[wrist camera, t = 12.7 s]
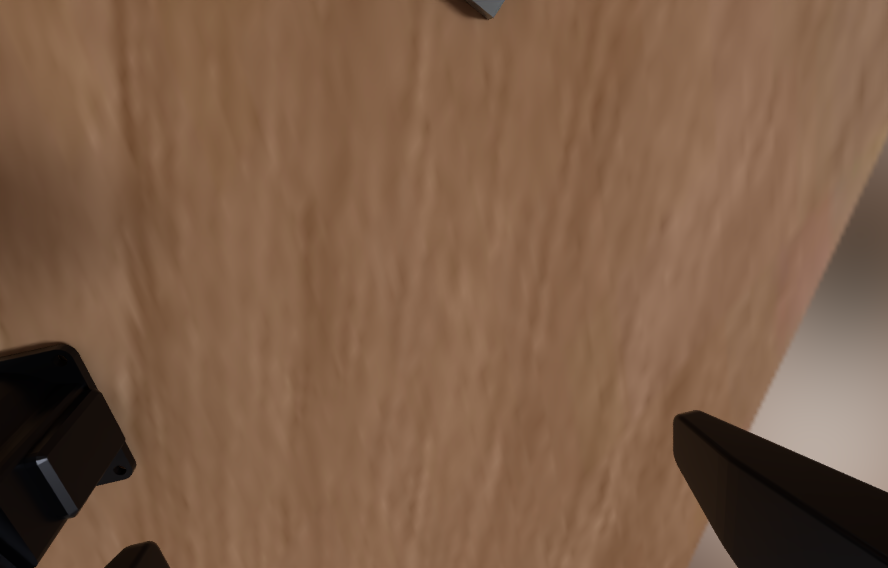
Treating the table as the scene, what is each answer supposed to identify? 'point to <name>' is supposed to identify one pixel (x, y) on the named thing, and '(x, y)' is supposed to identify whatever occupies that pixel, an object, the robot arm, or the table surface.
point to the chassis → (486, 7)
